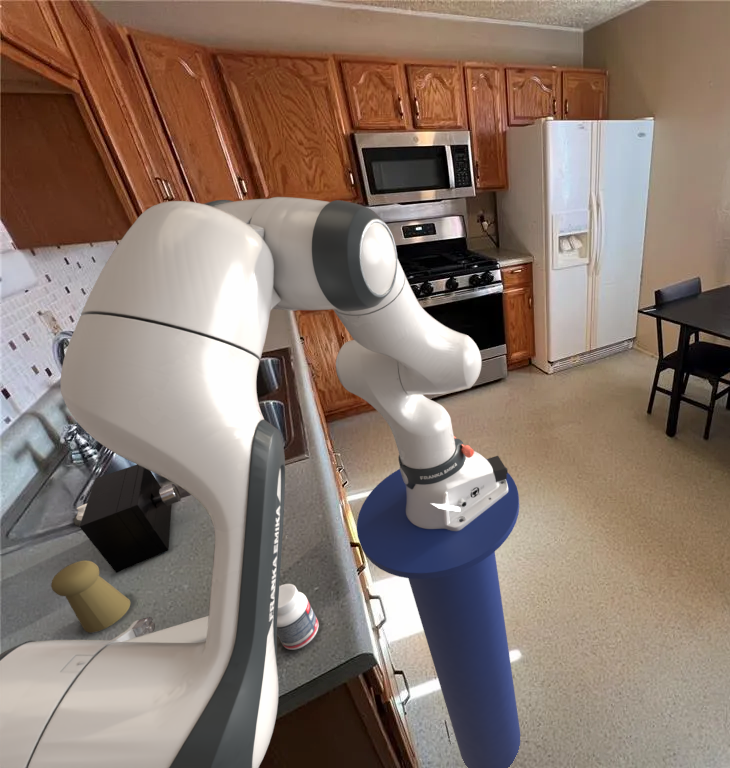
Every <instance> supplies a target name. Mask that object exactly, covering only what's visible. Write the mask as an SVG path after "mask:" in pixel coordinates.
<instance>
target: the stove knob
mask: <svg viewBox="0 0 730 768" xmlns="http://www.w3.org/2000/svg"><path fill="white" fill-rule="evenodd" d="M86 505H87V503H84V504H82V505H80V506H78V507H76V510H77V511H78V512H77V513H76V515H75V516H74V517H73V523H74V525H75V526H77V527H79V526H80V523H81V520H82V517H83V514H84V511H85V508H86Z"/></svg>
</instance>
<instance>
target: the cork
mask: <svg viewBox="0 0 730 768" xmlns="http://www.w3.org/2000/svg"><path fill="white" fill-rule="evenodd" d="M50 586H51V590H52V592H54V593H55V594H56V595H58V596H59V597H65V599H66V600H67V602H68V603H69V605H70V607H71V609H72V611H73V612H74V614H75V616H76V618H77V619H78V622H79V623H80V625H81V627H82V628H83V630H84V631H85V632H86V633H91V634H92V633H97V632H101V631H103V630H106V629H107V628H108V627H109V628H110V627H111V626H112V625H114V624H115V623H117V622H118V621H119V620H120V619H122V618H123V617H124V616H125V615H126V613H127V612H128V611H129V609H130V606H131V600H130V599H129V598H128V597H127V596H125V595H124V594H123V593H121V592H120V591H119V590H118V589H117V588H116V587H114V586H113V585H112V584H110V583H109V582H108V581H106V580H105V579H104V578H103V577H101V576H100V568H99V566H98V565H97V564H96V563H95V562H93V561H91V560H79V561H76V562H73V563H71V564H69V565H66V566H65V567H64V568H62V569H61V570H60V571H58V572H57V573H56V574H55V575H54V576H53V577H52V580H51V583H50Z"/></svg>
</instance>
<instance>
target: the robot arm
mask: <svg viewBox="0 0 730 768" xmlns="http://www.w3.org/2000/svg"><path fill="white" fill-rule="evenodd" d="M272 310H279V311H290V312H291V311H292V312H293V311H325V310H326V311H327V310H329V311H331V310H332V311H334V313H335V315H336V316H337V317H338V319H339V321H340V322H341V324H342V325H343V327H344V328H345V329H346V330H347V332H348V334H349V335H350V337H351V338H352V339H351V340H348V341H346V342H345V343H344V344H343V345H342V346H341V347H340V349H339V350H338V352H337V355H336V359H335V372H336V376H337V378H338V380H339V383H340V384H341V385H342V386H343V388H344V389H345V390H346V391H347V392H349V393H351V394H353V395H355V396H357V397H358V398H361V399H363V400H364V401H365V402H367V404H369V405H371V406H372V407H373V409H375V410H376V411H377V412H378V414H380V416H381V417H382V418H383V419H384V420H385V422H386V423H387V425H388V426H389V429H390V431H391V433H392V435H393V439H394V442H395V445H396V448H397V451H398V457H397V458H398V464H399V469H400V471H401V475H402V478H403V481H404V483H405V484H406V493H407V503H406V515H407V518H408V519H409V521H410V522H411V523H413V524H414V525H416V526H418V527H421V528H425V529H447V530H451V531H459V530H461V529H463V528H464V527H465V526H466V525H468V524H469V523H470V522H471V521H473V520H474V519H475V518H477V517H478V516H479V515H480V514H482V513H483V512H484V511H485V510H487V509H488V508H489V507H491V506H492V505H493V504H494V503H496V502H497V501H498V500H499V499H501V498H502V497H503V496H504V495H506V494H507V493H508V485H507V481H506V479H507V472H508V468H507V467H506V466H505V464H504V462H503V461H502V460H501V458H500V456H499V455H495V456H492V457H489V458H486V457H485V456H483V455H482V454H481V453H479V452H478V451H475V450H474V449H473V448H472V447H471V446H470V445H469V444H464V442H463V441H462V440H461V439H460V438H458V437H456V436H455V435H454V430H453V424H452V418H451V416H450V414H449V412H448V411H447V409H446V408H445V407H444V406H443V405H441V403H439V402H436V401H434V400H432V399H430V398H428V397H426V396H425V395H447V394H451V393H452V394H453V393H456V392H460V391H464V390H469V389H471V388H472V387H473V386H474V385H475V383H476V382H477V380H478V378H479V377H480V374H481V371H482V355H481V351H480V349H479V347H478V345H477V343H476V342H475V341H474V339H473V338H472V337H470V336H469V335H467V334H465V333H462V332H459V331H456V330H454V329H452V328H450V327H448V326H446V325H444V324H443V323H441V322H440V321H438V320H437V319H435V318H434V317H433V316H432V315H431V314H429V313H428V312H427V311H426V310H425V309H424V308H423V307H422V305H421V304H420V302H419V300H418V299H417V297H416V295H415V293H414V291H413V289H412V287H411V285H410V283H409V281H408V278H407V275H406V274H405V271H404V270H403V267H402V265H401V263H400V261H399V258H398V252H397V245H396V242H395V238H394V236H393V233H392V231H391V229H390V228H389V226H388V225H387V223H386V222H385V221H384V220H383V219H382V218H381V217H380V216H379V215H378V214H377V213H376V212H375V211H374V210H373V209H371V208H369V207H367V206H365V205H362V204H358V203H355V202H350V201H346V200H340V199H336V200H331V201H326V200H319V199H313V198H303V197H292V196H291V197H289V196H274V197H270V198H254V199H244V200H243V199H242V200H236V201H234V200H230V199H219V200H218V199H217V200H212V201H208V202H204V203H199V202H194V201H189V200H188V201H187V200H170V201H163V202H160V203H157V204H155V205H152V206H150V207H148V208H147V209H145V210H144V211H143V212H142V213H141V214H140V215H139V216H138V217H137V219H136V220H135V221H134V222H133V224H132V225H131V226H130V227H129V229H128V230H127V231H126V233H125V234H124V235H123V237H122V238H121V239H120V241H119V242H118V244H117V245H116V246H115V248H114V250H113V252H111V254H110V256H109V258H108V259H107V261H106V263H105V265H104V266H103V268H102V270H101V271H100V273H99V275H98V277H97V278H96V281H95V283H94V285H93V287H92V288H91V291H90V293H89V295H88V297H87V300H86V302H85V304H84V307H83V308H82V311H81V313H80V314H81V315H80V316H79V318H78V320H77V322H76V326H75V327H74V330H73V333H72V335H71V338H70V340H69V342H68V345H67V348H66V351H65V353H64V354H65V355H64V357H63V361H62V366H61V372H60V373H61V374H60V394H61V397H62V399H63V401H64V404H65V406H66V408H67V409H68V411H69V413H70V414H71V416H72V417H73V419H74V420H75V421H76V423H77V424H78V425H79V426H80V427H81V428H82V429H83V431H85V432H86V433H87V434H88V435H89V436H90V437H91V438H93V439H94V440H95V441H96V442H98V443H99V444H100V445H102V446H103V447H105V448H106V449H108V450H109V451H111V452H112V453H114V454H116V455H118V456H119V457H121V458H123V459H125V460H127V461H130V462H131V463H133V464H134V465H139V466H141V467H144V468H146V469H148V470H150V471H151V472H152V473H154V474H156V475H158V476H159V477H162V478H165V479H166V480H168V481H169V482H171V483H172V484H174V485H175V486H178V487H179V488H181V489H182V490H184V491H186V492H187V493H188V494H189V495H191V496H192V497H194V499H195V500H197V502H199V504H200V505H201V506H202V508H203V509H204V510H205V511H206V512H207V514H208V516H209V518H210V520H211V523H212V526H213V530H214V547H213V549H214V551H213V561H212V571H211V583H210V594H209V604H208V615H206V616H201V617H200V618H195V619H193V620H189V621H186V622H182V623H180V624H179V623H178V624H175V625H172V626H170V627H167V628H163V629H160V630H156V631H155V629H156V624H155V622H154V621H153V618H152V616H147V617H143V618H141V619H136V620H133V622H132V623H131V624H130V625H129V626H128V627H127V628H126V630H124V631H123V632H121V633H120V634H118V635H116V636H115V637H114V638H112V639H111V640H110V639H54V640H53V639H48V640H37V641H36V640H27V641H25V642H23V643H20V644H18V645H16V646H12V647H11V648H9V649H7V650H5V651H3V652H1V653H0V768H260V765H261V764H262V762H263V760H264V759H265V758H264V757H265V755H266V753H267V751H268V748H269V745H270V743H271V739H272V736H273V733H274V729H275V724H276V720H277V714H278V706H279V693H280V692H279V690H280V689H279V676H278V674H279V673H278V666H277V663H278V661H277V660H278V659H277V658H278V656H277V655H278V643H277V642H278V635H277V615H278V599H279V586H280V583H281V566H282V549H283V537H284V536H283V533H284V517H285V514H284V513H285V491H286V489H285V488H286V456H285V449H284V441H283V438H282V435H281V432H280V430H279V429H278V428H277V427H275V426H274V425H273V424H271V423H270V422H269V421H267V420H265V418H264V416H263V413H262V410H261V408H260V403H259V400H258V393H257V392H258V391H257V379H258V378H257V376H258V371H259V366H260V361H261V360H262V359H261V358H262V354H263V351H264V347H265V343H266V337H267V334H268V329H269V325H270V324H269V323H270V318H271V317H270V316H271V312H272ZM485 458H486V459H488V461H487V460H486V459H485ZM508 473H509V472H508ZM502 483H503V484H502ZM461 521H462V522H461Z"/></svg>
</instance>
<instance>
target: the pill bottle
mask: <svg viewBox="0 0 730 768" xmlns="http://www.w3.org/2000/svg"><path fill="white" fill-rule="evenodd" d="M319 626H320V625H319V620H318V618H317V616H316V613H315V612H314V610H313V608H312V606H311V603H310V601H309V600H308V598H307V596H306V595H305V594H304V593H303V592H301V591H299V589H297V586H296V585H294V584H292V583H285V584H280V585H279V599H278V615H277V638H279V641H280V643H281V645H282V646H283V647H284V648H285V649H287V650H289V651H295V650H298V649H302V648H304V647H305V646H306V645H308V644H309V643H311V641H312V640H313V639H314V638H315V637H316V635H317V633H318V630H319Z"/></svg>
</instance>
